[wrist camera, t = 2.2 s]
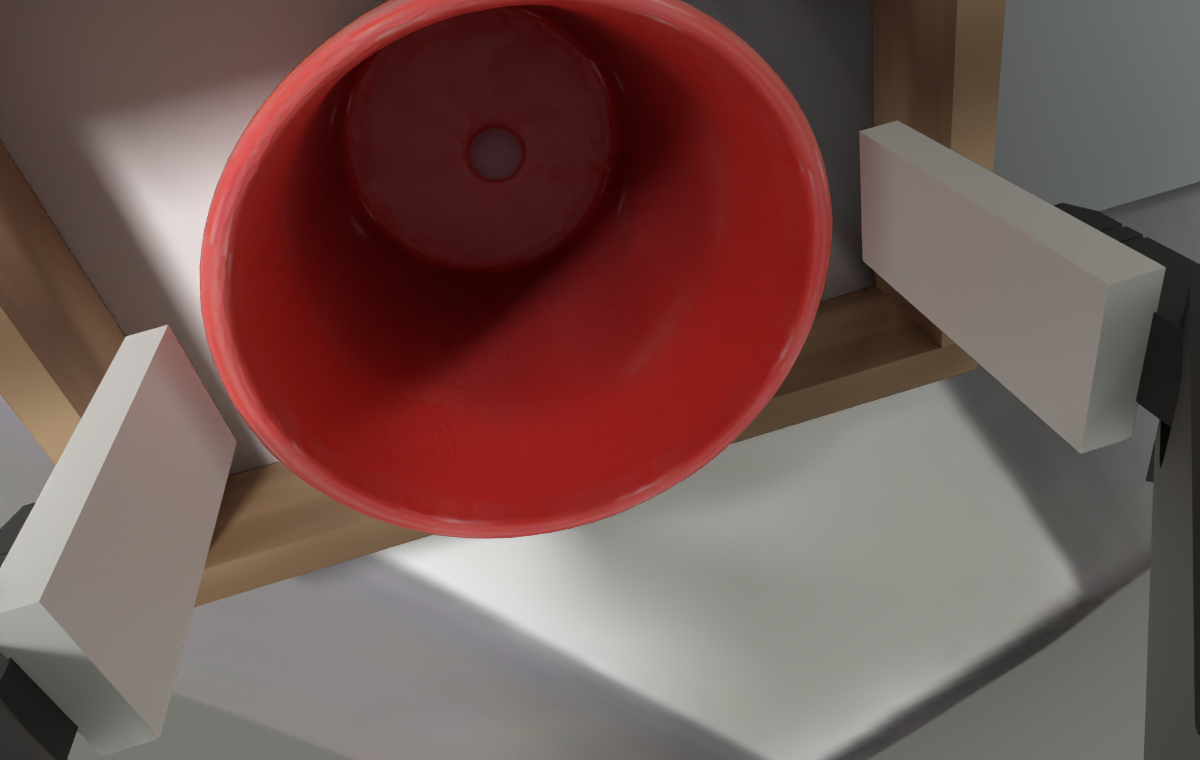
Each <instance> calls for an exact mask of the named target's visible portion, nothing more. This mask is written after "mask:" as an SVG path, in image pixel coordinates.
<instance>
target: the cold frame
mask: <svg viewBox="0 0 1200 760" xmlns="http://www.w3.org/2000/svg"><path fill="white" fill-rule="evenodd" d="M1005 7H1006V0H873V89H874V127H876V126H879V125H883V124H887V123H890V122H894V121H897V120H898V121H899V122H901V123H903V124H905V125H907V126H909V127H910V128H912V129H914V130H916V131H918V132H919V133H921V134H923V135H925V136H927V137H929V138H930V139H932V140H934V141H936V142H938V143H940V144H941V145H943V146H945V147H947V148H949V149H951V150H952V151H954V152H956V153H958V154H960V155H961V156H963V157H965V158H967V159H969V160H971V161H972V162H974V163H976V164H978V165H980V166H982V167H983V168H985V169H987V170H989V171H991V172H993V163H994V150H995V137H996V124H997V111H998V98H999V85H1000V72H1001V59H1002V46H1003V33H1004V20H1005ZM124 339H125V336H124V334H123V333H122V331H121V330H120V328H119V326H118V325H117V323H116V322H115V320H114V319H113V317H112V315H111V314H110V312H109V311H108V309H107V308H106V306H105V304H104V303H103V301H102V300H101V298H100V297H99V295H98V293H97V292H96V290H95V289H94V287H93V286H92V284H91V282H90V281H89V279H88V278H87V276H86V275H85V273H84V271H83V270H82V268H81V267H80V265H79V264H78V262H77V260H76V259H75V257H74V256H73V254H72V252H71V251H70V249H69V248H68V246H67V245H66V243H65V241H64V240H63V238H62V237H61V235H60V234H59V232H58V230H57V229H56V227H55V226H54V224H53V223H52V221H51V219H50V218H49V216H48V215H47V213H46V212H45V210H44V208H43V207H42V205H41V204H40V202H39V201H38V199H37V197H36V196H35V194H34V193H33V191H32V190H31V188H30V186H29V185H28V183H27V182H26V180H25V179H24V177H23V175H22V174H21V172H20V171H19V169H18V168H17V166H16V164H15V163H14V161H13V160H12V158H11V157H10V155H9V153H8V152H7V150H6V149H5V147H4V146H3V144H2V142H1V141H0V395H1V396H2V397H3V399H4V400H5V401H6V403H7V404H8V405H9V406H10V408H11V409H12V410H13V412H14V413H15V414H16V415H17V417H18V418H19V419H20V421H21V422H22V423H23V424H24V426H25V427H26V428H27V430H28V431H29V432H30V433H31V435H32V436H33V437H34V439H35V440H36V441H37V442H38V444H39V445H40V446H41V448H42V449H43V450H44V451H45V453H46V454H47V455H48V457H49V458H50V459H51V460H52V462H53V463H54V464H55V466H56V464H57V462H58V461H59V459H60V457H61V455H62V453H63V451H64V449H65V448H66V446H67V444H68V442H69V440H70V438H71V437H72V435H73V433H74V431H75V429H76V427H77V426H78V424H79V422H80V420H81V418H82V416H83V414H84V413H85V411H86V409H87V407H88V405H89V403H90V402H91V400H92V398H93V396H94V394H95V392H96V390H97V389H98V387H99V385H100V383H101V381H102V379H103V378H104V376H105V374H106V372H107V370H108V368H109V367H110V365H111V363H112V361H113V359H114V357H115V355H116V354H117V352H118V350H119V348H120V346H121V344H122V343H123V341H124ZM976 369H978V362H976V361H975V360H974V359H973V358H972V357H971V356H970V355H969V354H967V353H966V352H965V351H964V350H963V349H962V348H961V347H960V346H958V345H957V344H956V343H955V342H954V341H953V340H952V339H951V338H949V337H948V336H947V335H946V334H945V333H944V332H943V331H941V330H940V329H939V328H938V327H937V326H936V325H935V324H934V323H932V322H931V321H930V320H929V319H928V318H927V317H926V316H925V315H923V314H922V313H921V312H920V311H919V310H918V309H917V308H916V307H914V306H913V305H912V304H911V303H910V302H909V301H908V300H906V299H905V298H904V297H903V296H902V295H901V294H900V293H899V292H897V291H896V290H895V289H894V288H893V287H892V286H891V285H890V284H888V283H887V282H886V281H885V280H884V279H883V278H882V277H881V276H879V275H878V274H877V273H876V272H875V286H873V287H870V288H867V289H863V290H860V291H856V292H853V293H850V294H846V295H843V296H839V297H836V298H833V299H829V300H826V301H823V302H820V304H819V306H818V309H817V313H816V316H815V319H814V322H813V324H812V327H811V330H810V332H809V334H808V337H807V339H806V341H805V343H804V345H803V348H802V350H801V352H800V354H799V356H798V357H797V359H796V361H795V363H794V365H793V366H792V368H791V370H790V372H789V373H788V375H787V377H786V378H785V380H784V381H783V383H782V384H781V386H780V387H779V389H778V390H777V392H776V393H775V394H774V396H773V397H772V398H771V400H770V401H769V402H768V404H767V405H766V406H765V407H764V408H763V410H762V411H761V412H760V413H759V414H758V416H757V417H756V418H755V419H754V420H753V421H752V422H751V424H750V425H749V426H748V427H747V428H746V429H745V430H744V431H743V432H742V433H741V434H740V435H739V436H738V437H737V438H736V439H735V440H734V441H733V442H732V443H736V442H739V441H742V440H746V439H749V438H752V437H755V436H759V435H762V434H765V433H769V432H772V431H775V430H778V429H782V428H785V427H788V426H792V425H795V424H798V423H801V422H805V421H808V420H811V419H815V418H818V417H821V416H824V415H828V414H831V413H834V412H838V411H841V410H844V409H847V408H851V407H854V406H857V405H861V404H864V403H867V402H870V401H874V400H877V399H880V398H884V397H887V396H890V395H894V394H897V393H900V392H903V391H907V390H910V389H913V388H917V387H920V386H923V385H926V384H930V383H933V382H936V381H940V380H943V379H946V378H949V377H953V376H956V375H959V374H963V373H966V372H969V371H972V370H976ZM732 443H730V444H732ZM430 535H433V534H430V533H425V532H420V531H415V530H410V529H405V528H401V527H399V526H396V525H392V524H388V523H386V522H383V521H380V520H377V519H374V518H371V517H369V516H366V515H363V514H361V513H359V512H357V511H355V510H352V509H350V508H348V507H346V506H344V505H342V504H340V503H338V502H336V501H335V500H333V499H331V498H330V497H328V496H326V495H325V494H323V493H321V492H320V491H318V490H317V489H315V488H313V487H312V486H310V485H308V484H307V483H305V482H304V481H303V480H302V479H300V478H299V477H298V476H296V475H295V474H294V473H292V472H291V471H290V470H289V469H288V468H286V467H285V466H284V465H283V464H282V463H281V462H277V463H273V464H270V465H266V466H263V467H260V468H256V469H253V470H250V471H246V472H243V473H239V474H236V475H233V476H229V477H228V478H227V482H226V486H225V490H224V493H223V497H222V501H221V505H220V509H219V513H218V516H217V520H216V524H215V528H214V532H213V536H212V539H211V543H210V547H209V551H208V555H207V559H206V562H205V566H204V570H203V574H202V578H201V582H200V585H199V589H198V593H197V597H196V601H195V605H194V607H196V606H199V605H203V604H206V603H209V602H213V601H216V600H219V599H222V598H226V597H229V596H232V595H236V594H239V593H242V592H246V591H249V590H252V589H255V588H259V587H262V586H265V585H269V584H272V583H275V582H278V581H282V580H285V579H288V578H292V577H295V576H298V575H301V574H305V573H308V572H311V571H315V570H318V569H321V568H324V567H328V566H331V565H334V564H338V563H341V562H344V561H347V560H351V559H354V558H357V557H361V556H364V555H367V554H371V553H374V552H377V551H380V550H384V549H387V548H390V547H394V546H397V545H400V544H403V543H407V542H410V541H413V540H417V539H420V538H423V537H426V536H430Z"/></svg>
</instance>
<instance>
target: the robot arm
mask: <svg viewBox="0 0 1200 760" xmlns="http://www.w3.org/2000/svg"><path fill="white" fill-rule="evenodd" d="M859 142H860V179H861V215H862V252H863V261H864V262H865V263H866V264H867V265H868V266H869V267H870V268H872V269H873V270H874V271H875V272H876V273H877V274H878V275H879V276H881V277H882V278H883V279H884V280H885V281H886V282H887V283H888V284H890V285H891V286H892V287H893V288H894V289H895V290H896V291H897V292H899V293H900V294H901V295H902V296H903V297H904V298H905V299H906V300H908V301H909V302H910V303H911V304H912V305H913V306H914V307H916V308H917V309H918V310H919V311H920V312H921V313H922V314H923V315H925V316H926V317H927V318H928V319H929V320H930V321H931V322H932V323H934V324H935V325H936V326H937V327H938V328H939V329H940V330H941V331H943V332H944V333H945V334H946V335H947V336H948V337H949V338H951V339H952V340H953V341H954V342H955V343H956V344H957V345H958V346H960V347H961V348H962V349H963V350H964V351H965V352H966V353H967V354H969V355H970V356H971V357H972V358H973V359H974V360H975V361H976V362H978V363H979V364H980V365H981V366H982V367H983V368H984V369H985V370H987V371H988V372H989V373H990V374H991V375H992V376H993V377H995V378H996V379H997V380H998V381H999V382H1000V383H1001V384H1002V385H1004V386H1005V387H1006V388H1007V389H1008V390H1009V391H1010V392H1011V393H1013V394H1014V395H1015V396H1016V397H1017V398H1018V399H1019V400H1020V401H1022V402H1023V403H1024V404H1025V405H1026V406H1027V407H1028V408H1029V409H1031V410H1032V411H1033V412H1034V413H1035V414H1036V415H1037V416H1039V417H1040V418H1041V419H1042V420H1043V421H1044V422H1045V423H1046V424H1048V425H1049V426H1050V427H1051V428H1052V429H1053V430H1054V431H1055V432H1057V433H1058V434H1059V435H1060V436H1061V437H1062V438H1063V439H1064V440H1066V441H1067V442H1068V443H1069V444H1070V445H1071V446H1072V447H1074V448H1075V449H1076V450H1077V451H1078V452H1079V453H1080V454H1082V453H1086V452H1089V451H1092V450H1095V449H1099V448H1102V447H1105V446H1108V445H1112V444H1115V443H1118V442H1121V441H1124V440H1128V439H1131V436H1132V431H1133V426H1134V421H1135V416H1136V411H1137V406H1138V403H1139V404H1140V405H1141V406H1143V407H1144V408H1145V409H1147V410H1148V411H1149V412H1151V413H1152V414H1153V415H1155V416H1156V417H1157V418H1159V419H1160V420H1159V424H1158V429H1157V433H1156V438H1155V442H1154V446H1153V451H1152V455H1151V460H1150V464H1149V469H1148V473H1147V477H1146V481H1149V482H1153V511H1152V539H1151V568H1150V597H1149V599H1150V600H1149V626H1148V657H1147V684H1146V713H1145V714H1146V715H1145V741H1144V742H1145V743H1144V760H1200V264H1198V263H1196V262H1194V261H1192V260H1190V259H1188V258H1186V257H1184V256H1183V255H1181V254H1179V253H1177V252H1175V251H1173V250H1171V249H1169V248H1167V247H1165V246H1163V245H1161V244H1159V243H1158V242H1156V241H1154V240H1152V239H1150V238H1148V237H1147V238H1143V237H1142V234H1140V233H1138V232H1136V231H1135V230H1133V229H1131V228H1129V227H1122V224H1121V223H1119V222H1117V221H1115V220H1113V219H1111V218H1110V217H1108V216H1106V215H1104V214H1102V213H1100V212H1098V211H1096V210H1091V209H1087V208H1083V207H1079V206H1075V205H1070V204H1066V203H1059V204H1056V205H1051V204H1049V203H1047V202H1046V201H1044V200H1042V199H1040V198H1038V197H1036V196H1035V195H1033V194H1031V193H1029V192H1027V191H1025V190H1024V189H1022V188H1020V187H1018V186H1016V185H1014V184H1013V183H1011V182H1009V181H1007V180H1005V179H1004V178H1002V177H1000V176H998V175H996V174H994V173H993V172H991V171H989V170H987V169H985V168H983V167H982V166H980V165H978V164H976V163H974V162H972V161H971V160H969V159H967V158H965V157H963V156H961V155H960V154H958V153H956V152H954V151H952V150H951V149H949V148H947V147H945V146H943V145H941V144H940V143H938V142H936V141H934V140H932V139H930V138H929V137H927V136H925V135H923V134H921V133H919V132H918V131H916V130H914V129H912V128H910V127H909V126H907V125H905V124H903V123H901V122H899V121H898V120H897V121H894V122H890V123H887V124H883V125H879V126H876V127H872V128H869V129H865V130H862V131H859ZM236 444H237V441H236V439H235V438H234V436H233V434H232V433H231V431H230V429H229V427H228V426H227V424H226V422H225V421H224V419H223V417H222V416H221V414H220V412H219V410H218V409H217V407H216V405H215V404H214V402H213V400H212V398H211V397H210V395H209V393H208V392H207V390H206V388H205V386H204V385H203V383H202V381H201V380H200V378H199V376H198V374H197V373H196V371H195V369H194V368H193V366H192V364H191V362H190V361H189V359H188V357H187V356H186V354H185V352H184V351H183V349H182V347H181V345H180V344H179V342H178V340H177V339H176V337H175V335H174V333H173V332H172V330H171V328H170V327H169V325H165V326H161V327H158V328H154V329H151V330H147V331H143V332H140V333H136V334H133V335H129V336H126V337H125V339H124V341H123V343H122V344H121V346H120V348H119V350H118V352H117V354H116V355H115V357H114V359H113V361H112V363H111V365H110V367H109V368H108V370H107V372H106V374H105V376H104V378H103V379H102V381H101V383H100V385H99V387H98V389H97V390H96V392H95V394H94V396H93V398H92V400H91V402H90V403H89V405H88V407H87V409H86V411H85V413H84V414H83V416H82V418H81V420H80V422H79V424H78V426H77V427H76V429H75V431H74V433H73V435H72V437H71V438H70V440H69V442H68V444H67V446H66V448H65V449H64V451H63V453H62V455H61V457H60V459H59V461H58V462H57V464H56V466H55V468H54V470H53V472H52V473H51V475H50V477H49V479H48V481H47V483H46V485H45V486H44V488H43V490H42V492H41V494H40V496H39V497H38V499H37V501H36V502H35V503H31V504H28V505H25V506H23V507H22V508H21V509H20V510H19V511H18V512H17V513H16V514H15V515H14V516H13V517H12V518H11V519H10V520H9V521H8V522H7V523H6V524H5V525H4V526H3V527H2V528H1V529H0V760H68V759H67V758H68V755H69V752H70V749H71V746H72V743H73V740H74V738H75V735H76V732H77V731H78V732H79V733H80V734H81V735H82V736H83V737H84V738H85V739H86V740H87V741H88V742H89V743H90V744H91V745H92V746H93V747H94V748H95V749H96V750H97V751H98V752H99V753H100V754H101V755H102V756H103V755H107V754H110V753H113V752H117V751H120V750H123V749H126V748H129V747H133V746H136V745H139V744H142V743H146V742H149V741H152V740H155V739H159V738H160V735H161V731H162V727H163V723H164V719H165V715H166V712H167V708H168V704H169V700H170V697H171V693H172V689H173V685H174V681H175V678H176V674H177V670H178V666H179V662H180V658H181V655H182V651H183V647H184V643H185V639H186V635H187V631H188V628H189V624H190V620H191V616H192V612H193V608H194V605H195V601H196V597H197V593H198V589H199V585H200V582H201V578H202V574H203V570H204V566H205V562H206V559H207V555H208V551H209V547H210V543H211V539H212V536H213V532H214V528H215V524H216V520H217V516H218V513H219V509H220V505H221V501H222V497H223V493H224V490H225V486H226V482H227V478H228V474H229V470H230V467H231V463H232V459H233V455H234V451H235V447H236Z"/></svg>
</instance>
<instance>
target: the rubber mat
mask: <svg viewBox="0 0 1200 760" xmlns="http://www.w3.org/2000/svg"><path fill="white" fill-rule="evenodd" d="M993 173H994V174H996V175H998V176H1000V177H1002V178H1004V179H1005V180H1007V181H1009V182H1011V183H1013V184H1014V185H1016V186H1018V187H1020V188H1022V189H1024V190H1025V191H1027V192H1029V193H1031V194H1033V195H1035V196H1036V197H1038V198H1040V199H1042V200H1044V201H1046V202H1047V203H1049V204H1051V205H1056V204H1059V203H1066V204H1070V205H1075V206H1079V207H1083V208H1087V209H1091V210H1096V211H1098V212H1099V211H1102V210H1105V209H1109V208H1112V207H1116V206H1119V205H1122V204H1126V203H1129V202H1132V201H1136V200H1139V199H1143V198H1146V197H1149V196H1153V195H1156V194H1160V193H1163V192H1166V191H1170V190H1173V189H1177V188H1180V187H1183V186H1187V185H1190V184H1194V183H1197V182H1200V0H1006V7H1005V20H1004V33H1003V46H1002V59H1001V72H1000V85H999V98H998V111H997V124H996V137H995V150H994V163H993Z"/></svg>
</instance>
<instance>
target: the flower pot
mask: <svg viewBox="0 0 1200 760" xmlns="http://www.w3.org/2000/svg"><path fill="white" fill-rule="evenodd" d="M832 228H833V218H832V203H831V196H830V189H829V183H828V179H827V174H826V170H825V166H824V162H823V158H822V155H821V152H820V149H819V146H818V143H817V140H816V138H815V136H814V133H813V131H812V129H811V126H810V124H809V122H808V119H807V118H806V116H805V114H804V113H803V111H802V109H801V108H800V106H799V104H798V103H797V101H796V99H795V98H794V96H793V95H792V93H791V92H790V90H789V89H788V88H787V86H786V85H785V83H784V82H783V80H782V79H781V78H780V77H779V76H778V74H777V73H776V72H775V71H774V70H773V69H772V68H771V66H770V65H769V64H768V63H767V62H766V61H765V60H764V59H763V58H762V57H761V56H760V55H759V54H758V53H757V52H756V51H755V50H754V49H753V48H752V47H751V46H749V45H748V44H747V43H746V42H745V41H744V40H743V39H742V38H741V37H739V36H738V35H737V34H735V33H734V32H733V31H731V30H730V29H729V28H727V27H726V26H725V25H723V24H722V23H721V22H719V21H717V20H716V19H714V18H712V17H711V16H709V15H707V14H706V13H704V12H702V11H701V10H699V9H697V8H696V7H694V6H692V5H690V4H688V3H686V2H684V1H682V0H388V1H387V2H385V3H383V4H381V5H379V6H377V7H376V8H374V9H372V10H370V11H369V12H367V13H365V14H363V15H361V16H360V17H359V18H357V19H356V20H354V21H353V22H351V23H350V24H349V25H347V26H346V27H344V28H343V29H341V30H340V31H339V32H337V33H336V34H334V35H333V36H332V37H330V38H329V39H327V40H326V41H325V42H324V43H323V44H321V45H320V46H319V47H318V48H317V49H316V50H315V51H313V52H312V53H311V54H310V55H309V56H308V57H306V58H305V59H304V60H303V61H302V62H301V63H300V64H299V65H298V66H297V67H296V68H295V69H294V70H293V71H292V72H291V73H289V74H288V75H287V76H286V77H285V79H284V80H283V81H282V82H281V83H280V84H279V86H278V87H277V88H276V89H275V90H274V91H273V93H272V94H271V95H270V96H269V97H268V99H267V100H266V101H265V102H264V103H263V105H262V106H261V107H260V109H259V110H258V111H257V112H256V114H255V115H254V117H253V118H252V120H251V121H250V123H249V124H248V126H247V128H246V129H245V131H244V132H243V134H242V135H241V137H240V139H239V141H238V143H237V144H236V146H235V148H234V150H233V151H232V153H231V155H230V157H229V158H228V161H227V163H226V165H225V168H224V170H223V172H222V174H221V177H220V179H219V181H218V184H217V187H216V190H215V193H214V196H213V199H212V202H211V205H210V209H209V213H208V217H207V221H206V225H205V229H204V236H203V242H202V250H201V260H200V299H201V311H202V317H203V323H204V328H205V333H206V338H207V342H208V345H209V348H210V351H211V354H212V357H213V360H214V363H215V366H216V368H217V371H218V373H219V375H220V378H221V380H222V382H223V384H224V387H225V389H226V391H227V393H228V395H229V397H230V399H231V401H232V403H233V404H234V406H235V407H236V409H237V410H238V412H239V413H240V415H241V416H242V418H243V419H244V421H245V422H246V424H247V425H248V426H249V427H250V429H251V430H252V431H253V432H254V434H255V435H256V436H257V437H258V439H259V440H260V441H261V442H262V444H263V445H264V446H265V447H266V448H267V449H268V450H269V451H270V452H271V453H272V454H273V456H275V457H276V458H277V459H278V460H279V461H280V462H281V463H282V464H283V465H284V466H285V467H286V468H288V469H289V470H290V471H291V472H292V473H294V474H295V475H296V476H298V477H299V478H300V479H302V480H303V481H304V482H305V483H307V484H308V485H310V486H312V487H313V488H315V489H317V490H318V491H320V492H321V493H323V494H325V495H326V496H328V497H330V498H331V499H333V500H335V501H336V502H338V503H340V504H342V505H344V506H346V507H348V508H350V509H352V510H355V511H357V512H359V513H361V514H363V515H366V516H369V517H371V518H374V519H377V520H380V521H383V522H386V523H388V524H392V525H396V526H399V527H401V528H405V529H410V530H415V531H420V532H425V533H430V534H435V535H442V536H452V537H462V538H513V537H522V536H530V535H537V534H544V533H550V532H555V531H560V530H565V529H570V528H574V527H577V526H581V525H585V524H588V523H592V522H595V521H598V520H601V519H604V518H607V517H610V516H613V515H615V514H618V513H620V512H623V511H625V510H628V509H630V508H632V507H634V506H636V505H638V504H641V503H643V502H645V501H647V500H649V499H650V498H652V497H654V496H656V495H658V494H660V493H662V492H664V491H666V490H667V489H669V488H671V487H672V486H674V485H676V484H677V483H679V482H681V481H683V480H685V479H686V478H688V477H689V476H691V475H692V474H693V473H695V472H696V471H698V470H699V469H700V468H702V467H703V466H704V465H706V464H707V463H708V462H710V461H711V460H712V459H714V458H715V457H716V456H717V455H718V454H719V453H721V452H722V451H723V450H724V449H725V448H726V447H727V446H728V445H729V444H730V443H732V442H733V441H734V440H735V439H736V438H737V437H738V436H739V435H740V434H741V433H742V432H743V431H744V430H745V429H746V428H747V427H748V426H749V425H750V424H751V422H752V421H753V420H754V419H755V418H756V417H757V416H758V414H759V413H760V412H761V411H762V410H763V408H764V407H765V406H766V405H767V404H768V402H769V401H770V400H771V398H772V397H773V396H774V394H775V393H776V392H777V390H778V389H779V387H780V386H781V384H782V383H783V381H784V380H785V378H786V377H787V375H788V373H789V372H790V370H791V368H792V366H793V365H794V363H795V361H796V359H797V357H798V356H799V354H800V352H801V350H802V348H803V345H804V343H805V341H806V339H807V337H808V334H809V332H810V330H811V327H812V324H813V322H814V319H815V316H816V313H817V309H818V306H819V304H820V301H821V297H822V294H823V290H824V287H825V282H826V278H827V273H828V268H829V263H830V256H831V246H832Z"/></svg>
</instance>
